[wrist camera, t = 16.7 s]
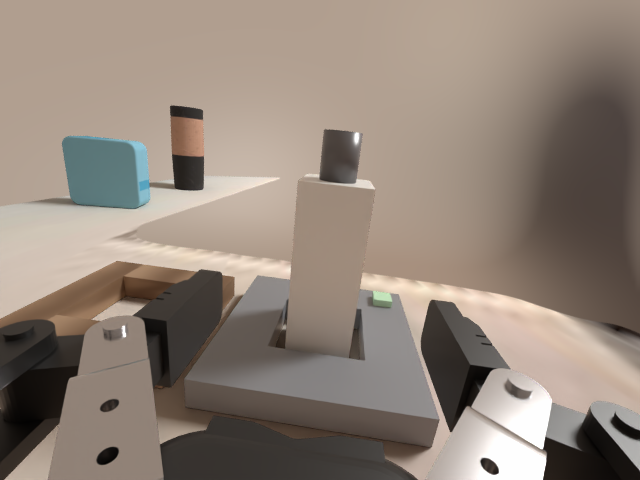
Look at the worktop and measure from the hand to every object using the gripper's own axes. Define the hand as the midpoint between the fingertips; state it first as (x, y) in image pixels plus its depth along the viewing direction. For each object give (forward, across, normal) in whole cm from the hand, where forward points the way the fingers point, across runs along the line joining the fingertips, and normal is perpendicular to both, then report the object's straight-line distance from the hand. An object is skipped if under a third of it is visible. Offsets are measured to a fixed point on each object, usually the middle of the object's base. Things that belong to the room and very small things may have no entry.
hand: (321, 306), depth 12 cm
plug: (+10, 0, +9) cm, 13 cm away
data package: (+43, +43, +9) cm, 61 cm away
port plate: (+10, 0, +9) cm, 13 cm away
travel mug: (+68, +41, +9) cm, 80 cm away
